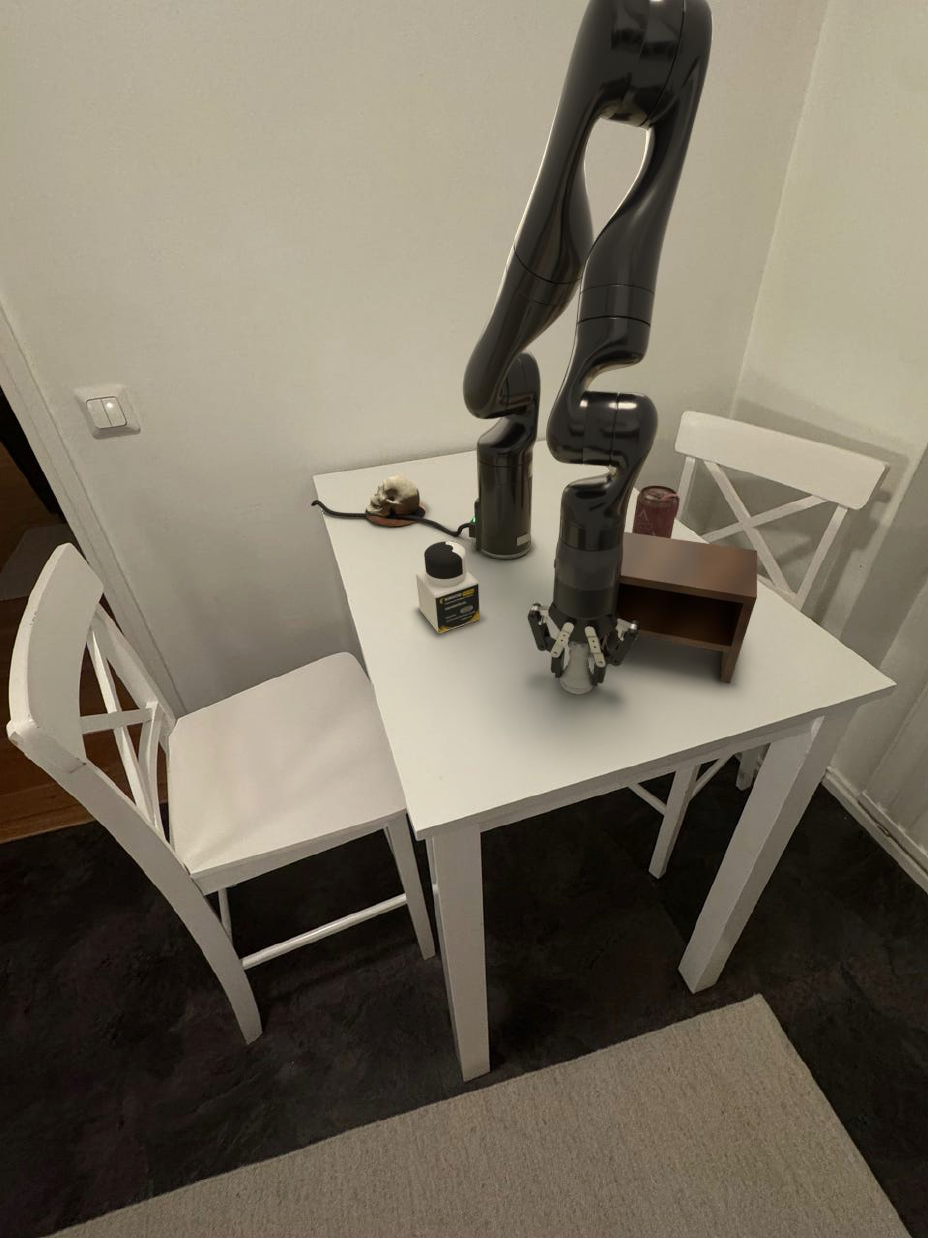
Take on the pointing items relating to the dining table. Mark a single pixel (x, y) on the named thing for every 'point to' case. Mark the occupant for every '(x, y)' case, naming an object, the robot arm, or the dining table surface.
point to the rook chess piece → (577, 669)
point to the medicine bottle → (447, 587)
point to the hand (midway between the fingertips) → (577, 677)
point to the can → (655, 511)
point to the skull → (395, 502)
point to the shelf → (689, 593)
